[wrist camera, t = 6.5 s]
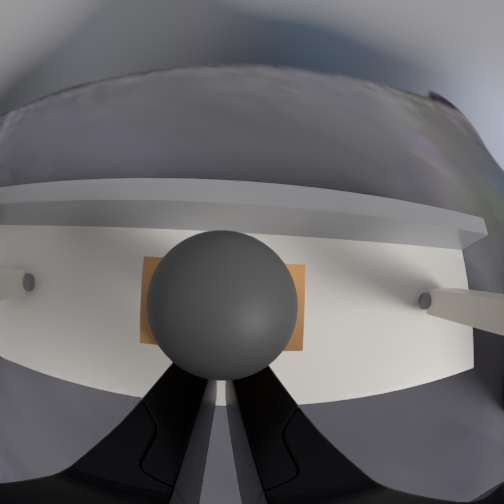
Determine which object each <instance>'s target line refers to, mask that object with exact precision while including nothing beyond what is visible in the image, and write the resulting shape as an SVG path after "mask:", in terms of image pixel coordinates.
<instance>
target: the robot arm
mask: <svg viewBox="0 0 504 504" xmlns="http://www.w3.org/2000/svg"><path fill="white" fill-rule="evenodd" d="M216 397H217V380H209V379H205V378H201V377H198V376H196V375H193V374H190V373H189V372H187V371H185V370H183V369H181V368H180V367H179V366H177V365H176V364H175V363H172V364H171V365H170V366H169V367H168V369H167V370H166V371H165V372H164V373H163V374H162V376H161V377H160V378H159V379H158V380H157V382H156V383H155V384H154V385H153V386H152V387H151V389H150V390H149V391H148V392H147V393H146V395H145V396H144V397H143V398H142V400H140V401H139V403H138V404H137V405H136V406H135V407H134V409H133V410H132V411H131V412H130V413H129V414H128V415H127V416H126V417H125V418H124V420H123V421H122V422H121V423H120V424H119V425H118V426H117V427H115V428H114V429H113V430H112V431H111V432H110V433H109V434H108V435H107V436H106V437H105V438H103V439H102V440H101V441H100V442H99V443H98V444H96V445H95V446H94V447H93V448H92V449H91V450H89V451H88V452H87V453H86V454H85V455H83V456H82V457H81V458H80V459H79V460H78V461H76V462H75V463H74V464H73V465H71V466H70V467H68V468H67V469H65V470H63V471H61V472H59V473H56V474H54V475H50V476H46V477H41V478H36V479H30V480H24V481H17V482H9V483H0V504H199V502H200V495H201V489H202V483H203V477H204V470H205V464H206V458H207V452H208V446H209V440H210V434H211V428H212V422H213V416H214V410H215V404H216ZM225 399H226V408H227V415H228V422H229V429H230V436H231V442H232V449H233V455H234V461H235V467H236V473H237V479H238V485H239V490H240V496H241V501H242V504H504V482H502V483H500V484H498V485H496V486H495V487H493V488H492V489H490V490H488V491H487V492H485V493H484V494H482V495H480V496H479V497H477V498H475V499H474V500H472V501H470V502H454V501H447V500H440V499H434V498H429V497H424V496H419V495H414V494H410V493H406V492H402V491H398V490H394V489H391V488H388V487H386V486H383V485H382V484H380V483H378V482H376V481H375V480H373V479H371V478H370V477H369V476H368V475H366V474H365V473H364V472H363V471H362V470H361V469H359V468H358V467H357V466H356V465H355V464H354V463H353V462H351V461H350V460H349V459H348V458H347V457H346V456H345V455H344V454H342V453H341V452H340V451H339V450H338V449H337V448H336V447H335V446H334V445H333V444H332V443H331V442H330V441H329V440H328V439H327V438H326V437H325V436H324V435H323V434H322V433H321V432H320V431H319V430H318V429H317V428H316V427H315V425H314V424H313V423H312V422H311V421H310V419H309V418H308V417H307V416H306V414H305V413H304V412H303V410H302V409H301V408H300V407H298V404H297V403H296V401H295V400H294V399H293V398H292V396H291V395H290V394H289V392H288V391H287V390H286V388H285V387H284V385H283V384H282V383H281V381H280V380H279V379H278V377H277V376H276V375H275V373H274V372H273V370H272V369H271V368H270V366H269V365H268V366H267V367H266V368H264V369H262V370H261V371H259V372H257V373H255V374H253V375H250V376H248V377H244V378H241V379H236V380H227V381H225Z"/></svg>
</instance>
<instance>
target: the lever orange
mask: <svg viewBox="0 0 504 504" xmlns="http://www.w3.org/2000/svg"><path fill="white" fill-rule="evenodd" d="M304 308H305V265H300V264H285V263H284V262H283V261H282V259H281V258H280V257H279V256H278V255H277V254H276V253H275V252H274V251H273V250H272V249H271V248H270V247H268V246H267V245H266V244H264V243H263V242H261V241H260V240H258V239H256V238H254V237H252V236H249V235H247V234H244V233H240V232H236V231H228V230H214V231H207V232H203V233H199V234H196V235H194V236H191V237H189V238H187V239H185V240H183V241H182V242H180V243H178V244H177V245H176V246H174V247H173V248H172V249H171V250H170V251H169V252H168V253H167V254H166V255H165V256H164V257H148V256H144V260H143V272H142V286H141V304H140V343H144V344H153V345H159V347H160V349H161V350H162V351H163V352H164V354H165V355H166V356H167V357H168V358H169V359H170V360H171V361H172V362H173V363H175V364H176V365H177V366H179V367H180V368H181V369H183V370H185V371H187V372H189V373H190V374H193V375H196V376H198V377H201V378H205V379H209V380H218V381H227V380H236V379H241V378H244V377H248V376H250V375H253V374H255V373H257V372H259V371H261V370H262V369H264V368H266V367H267V366H268V365H270V364H271V363H272V362H273V361H274V360H275V359H276V358H277V357H278V356H279V355H280V354H281V353H282V351H303V334H304Z"/></svg>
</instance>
